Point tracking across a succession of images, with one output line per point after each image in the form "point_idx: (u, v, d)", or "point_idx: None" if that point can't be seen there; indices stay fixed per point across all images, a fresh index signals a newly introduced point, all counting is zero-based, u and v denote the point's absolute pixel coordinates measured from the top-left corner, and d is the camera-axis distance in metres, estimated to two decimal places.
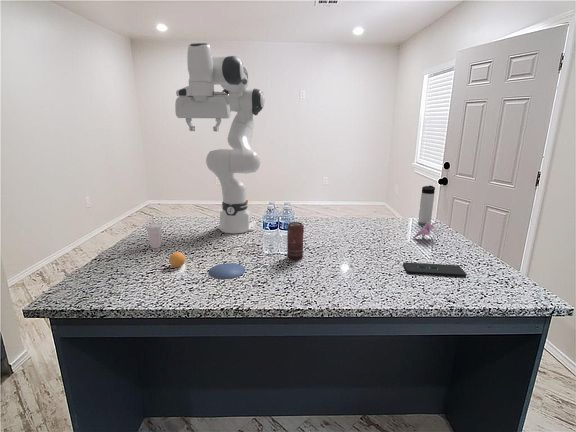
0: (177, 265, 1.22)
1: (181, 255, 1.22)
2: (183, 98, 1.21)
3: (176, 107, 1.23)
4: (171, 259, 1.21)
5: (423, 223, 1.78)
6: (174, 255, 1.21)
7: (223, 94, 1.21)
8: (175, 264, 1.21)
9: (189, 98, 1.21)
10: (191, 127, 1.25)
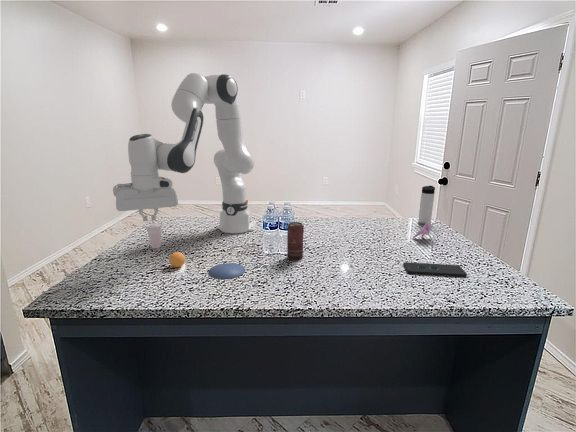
0: (177, 265, 1.22)
1: (181, 255, 1.22)
2: None
3: None
4: (171, 259, 1.21)
5: (423, 223, 1.78)
6: (174, 255, 1.21)
7: None
8: (175, 264, 1.21)
9: None
10: None
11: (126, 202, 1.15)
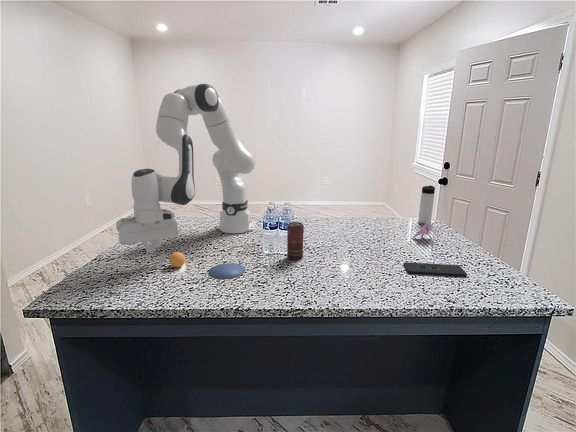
0: (177, 265, 1.22)
1: (181, 255, 1.22)
2: None
3: None
4: (171, 259, 1.21)
5: (423, 223, 1.78)
6: (174, 255, 1.21)
7: None
8: (175, 264, 1.21)
9: None
10: None
11: (130, 235, 1.17)
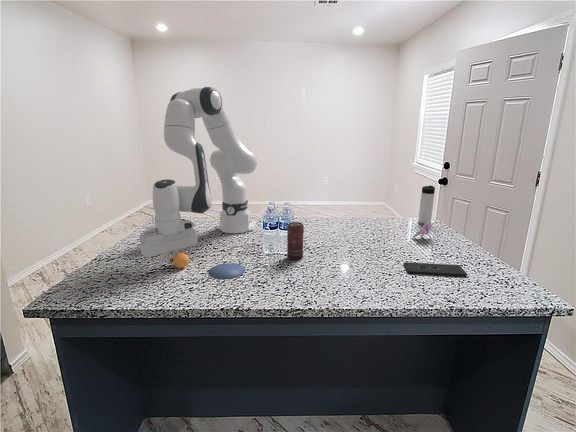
0: (179, 267, 1.21)
1: (186, 259, 1.22)
2: None
3: None
4: (176, 260, 1.20)
5: (423, 223, 1.78)
6: (180, 257, 1.20)
7: None
8: (178, 266, 1.21)
9: None
10: None
11: (154, 248, 1.17)
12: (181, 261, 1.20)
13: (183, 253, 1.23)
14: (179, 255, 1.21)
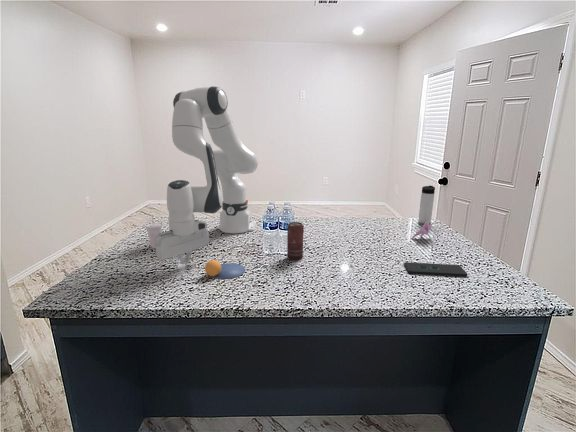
0: (214, 271, 1.14)
1: (214, 261, 1.16)
2: None
3: None
4: (206, 268, 1.15)
5: (423, 223, 1.78)
6: (207, 263, 1.15)
7: None
8: (212, 271, 1.14)
9: None
10: None
11: (170, 249, 1.15)
12: (210, 264, 1.14)
13: None
14: None
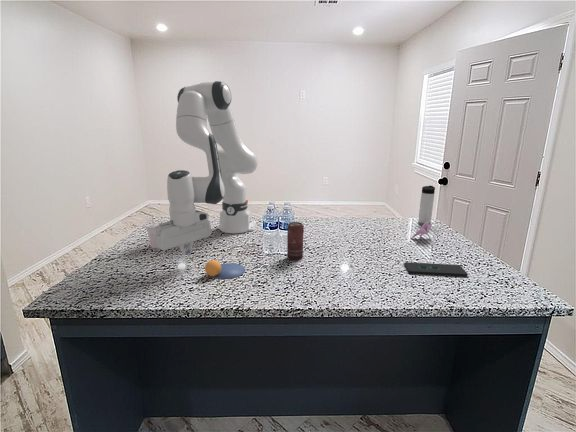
0: (214, 271, 1.14)
1: (214, 261, 1.16)
2: None
3: None
4: (206, 268, 1.15)
5: (423, 223, 1.78)
6: (207, 263, 1.15)
7: None
8: (212, 271, 1.14)
9: None
10: None
11: (170, 240, 1.15)
12: (210, 264, 1.14)
13: None
14: None
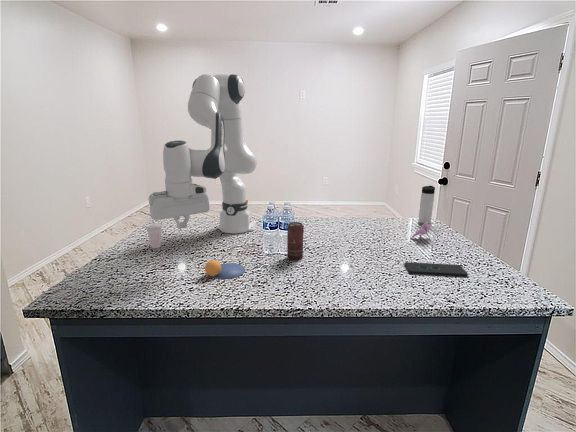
0: (214, 271, 1.14)
1: (214, 261, 1.16)
2: None
3: None
4: (206, 268, 1.15)
5: (423, 223, 1.78)
6: (207, 263, 1.15)
7: None
8: (212, 271, 1.14)
9: None
10: None
11: (163, 210, 1.12)
12: (210, 264, 1.14)
13: None
14: None
